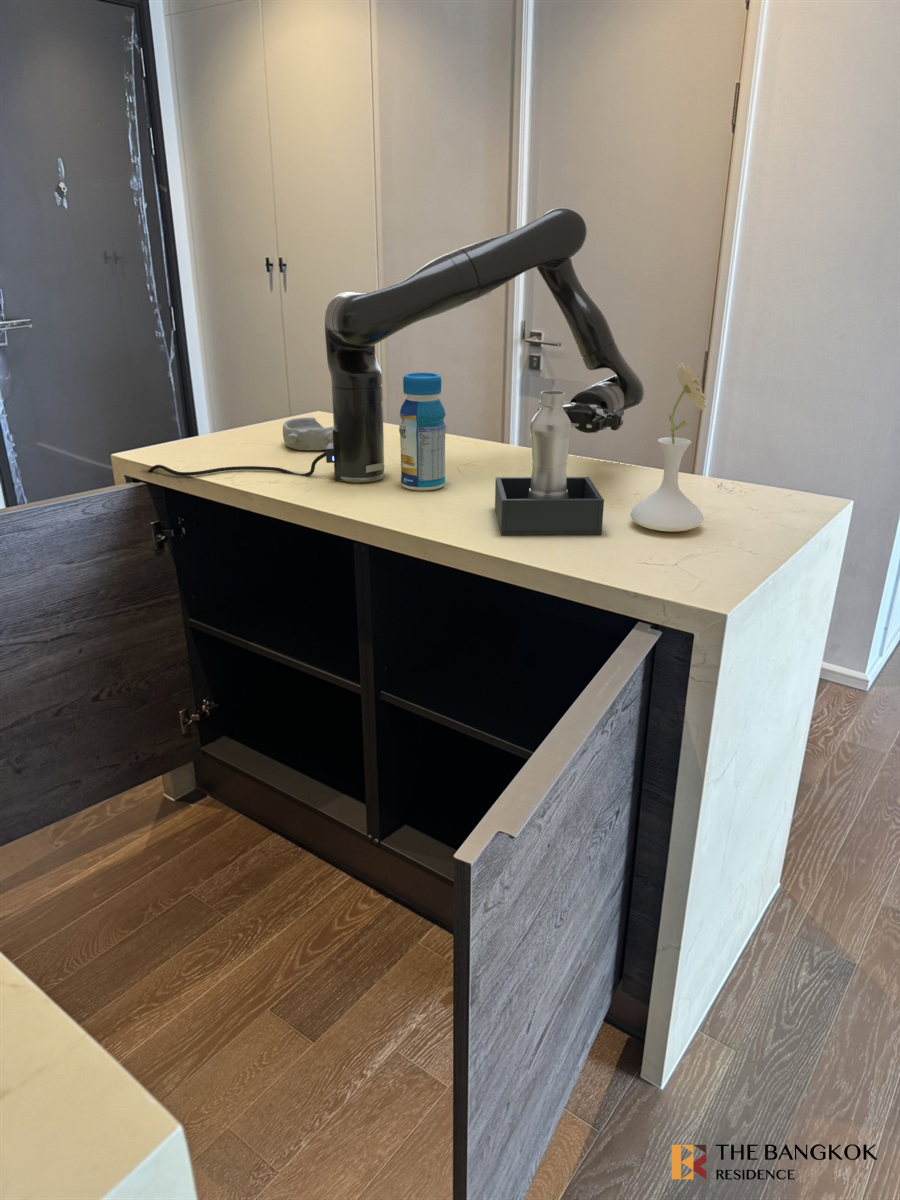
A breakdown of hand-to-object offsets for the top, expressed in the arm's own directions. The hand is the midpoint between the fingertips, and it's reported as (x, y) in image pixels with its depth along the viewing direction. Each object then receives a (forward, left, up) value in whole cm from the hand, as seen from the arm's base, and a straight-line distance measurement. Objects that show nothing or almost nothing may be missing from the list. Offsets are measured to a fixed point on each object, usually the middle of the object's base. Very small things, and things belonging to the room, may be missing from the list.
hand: (568, 424), depth 143 cm
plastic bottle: (-4, -9, -14) cm, 17 cm away
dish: (-48, +46, -14) cm, 68 cm away
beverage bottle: (-24, +13, -14) cm, 31 cm away
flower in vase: (+15, -11, -14) cm, 23 cm away
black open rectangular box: (-4, -9, -14) cm, 17 cm away
